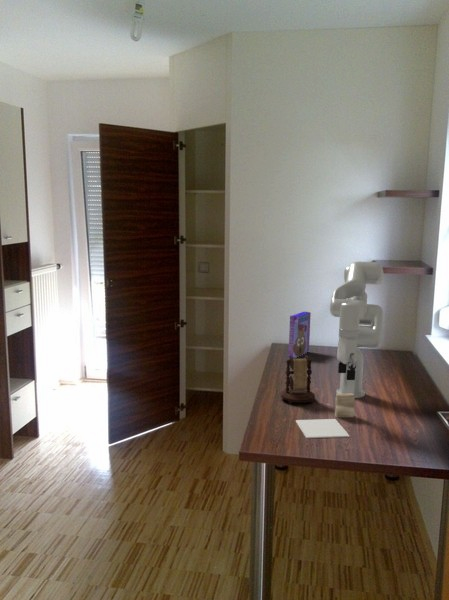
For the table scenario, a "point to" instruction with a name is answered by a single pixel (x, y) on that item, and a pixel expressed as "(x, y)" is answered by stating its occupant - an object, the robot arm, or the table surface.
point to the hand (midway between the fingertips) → (346, 376)
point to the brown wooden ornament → (298, 381)
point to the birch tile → (344, 405)
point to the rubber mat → (321, 428)
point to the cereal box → (299, 334)
